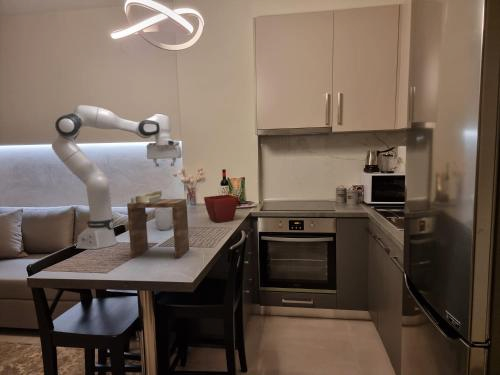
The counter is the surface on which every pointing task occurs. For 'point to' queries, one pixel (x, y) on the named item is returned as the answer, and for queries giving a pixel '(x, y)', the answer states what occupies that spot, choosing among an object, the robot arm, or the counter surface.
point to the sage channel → (151, 199)
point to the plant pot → (221, 207)
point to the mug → (164, 218)
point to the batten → (146, 196)
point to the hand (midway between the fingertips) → (164, 166)
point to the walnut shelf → (140, 227)
